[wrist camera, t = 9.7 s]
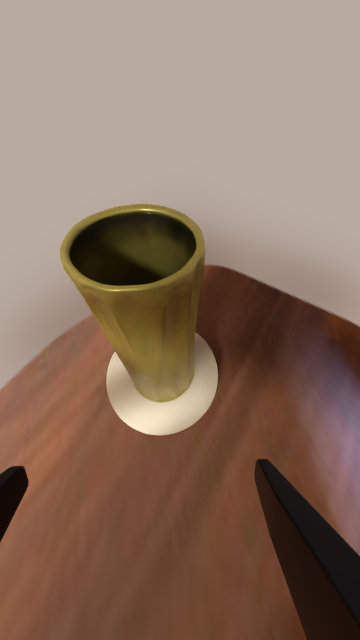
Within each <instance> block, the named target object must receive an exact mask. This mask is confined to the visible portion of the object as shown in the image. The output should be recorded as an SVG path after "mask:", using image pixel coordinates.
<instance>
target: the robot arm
mask: <svg viewBox="0 0 360 640" xmlns="http://www.w3.org/2000/svg"><path fill="white" fill-rule="evenodd" d="M255 482H256V486H257V490H258V493H259V497H260V501H261V504H262V508H263V512H264V515H265V519H266V523H267V526H268V530H269V533H270V537H271V540H272V543H273V546H274V549H275V551H276V554H277V557H278V560H279V562H280V565H281V568H282V571H283V574H284V576H285V579H286V582H287V585H288V588H289V590H290V593H291V596H292V599H293V602H294V604H295V607H296V610H297V613H298V616H299V618H300V621H301V624H302V627H303V629H304V632H305V635H306V638H307V640H360V556H359V555H358V554H357V553H356V552H355V551H354V550H353V549H352V548H351V547H350V545H349V544H348V543H347V542H346V541H345V540H344V539H343V538H342V537H341V536H340V535H339V534H338V533H337V532H336V531H335V530H334V529H333V528H332V527H331V525H330V524H329V523H328V522H327V521H326V520H325V519H324V518H323V517H322V516H321V515H320V514H319V513H318V512H317V511H316V510H315V509H314V508H313V507H312V506H311V504H310V503H309V502H308V501H307V500H306V499H305V498H304V497H303V496H302V495H301V494H300V493H299V492H298V491H297V490H296V489H295V488H294V487H293V486H292V484H291V483H290V482H289V481H288V480H287V479H286V478H285V477H284V476H283V475H282V474H281V473H280V472H279V471H278V470H277V469H276V468H275V467H274V466H273V465H272V463H271V462H270V461H269V460H267V459H257V460H256V465H255ZM27 487H28V478H27V474H26V471H25V468H24V467H23V466H12V467H10V468H8V469H7V470H5V471H4V472H3V473H1V474H0V542H1V540H2V538H3V536H4V534H5V532H6V530H7V528H8V526H9V524H10V522H11V520H12V518H13V516H14V514H15V512H16V510H17V508H18V506H19V504H20V502H21V500H22V498H23V496H24V494H25V492H26V489H27Z"/></svg>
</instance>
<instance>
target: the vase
mask: <svg viewBox="0 0 360 640" xmlns="http://www.w3.org/2000/svg"><path fill="white" fill-rule="evenodd" d="M60 256H61V261H62V264H63V267H64V269H65V271H66V273H67V274H68V275H69V277H70V278H71V280H72V281H73V282H74V284H75V285H76V287H77V288H78V290H79V292H80V293H81V295H82V296H83V298H84V300H85V301H86V303H87V305H88V307H89V308H90V310H91V312H92V314H93V315H94V317H95V319H96V320H97V322H98V323H99V325H100V327H101V328H102V330H103V332H104V333H105V335H106V337H107V338H108V340H109V342H110V344H111V345H112V347H113V348H114V350H115V352H116V354H117V355H118V357H119V359H120V360H121V362H122V364H123V365H124V367H125V368H126V370H127V372H128V374H129V376H130V378H131V379H132V381H133V385H134V387H135V388H136V390H137V391H138V392H139V393H140V394H141V395H142V396H143V397H144V398H146V399H148V400H150V401H153V402H157V403H163V402H169V401H173V400H175V399H177V398H178V397H180V396H181V395H182V394H184V393H185V392H186V391H187V390H188V388H189V387H190V385H191V383H192V380H193V378H194V351H195V329H196V321H197V312H198V305H199V298H200V291H201V283H202V276H203V271H204V261H205V246H204V238H203V234H202V231H201V229H200V228H199V227H198V225H197V224H196V223H195V222H194V221H193V220H192V219H190V218H189V217H188V216H186V215H185V214H183V213H181V212H179V211H176V210H174V209H171V208H167V207H164V206H158V205H151V204H150V205H149V204H135V205H127V206H119V207H114V208H111V209H107V210H104V211H101V212H99V213H96V214H93V215H91V216H89V217H87V218H85V219H83V220H82V221H80V222H79V223H77V224H76V225H75V226H74V227H73V228H72V229H71V230H70V231H69V232H68V234H67V236H66V237H65V239H64V241H63V243H62V245H61V248H60Z"/></svg>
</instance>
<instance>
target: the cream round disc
mask: <svg viewBox="0 0 360 640" xmlns="http://www.w3.org/2000/svg"><path fill="white" fill-rule="evenodd" d="M217 383H218V370H217V364H216V360H215V357H214V355H213V352H212V350H211V349H210V347H209V345H208V344H207V343H206V342H205V340H204V339H203V338H202V337H201V336H200V335H198V334H197V333H196V332H195V351H194V378H193V380H192V383H191V385H190V387H189V388H188V390H187V391H186V392H185V393H184V394H182V395H181V396H180V397H178V398H177V399H175V400H173V401H169V402H163V403H157V402H153V401H150V400H148V399H146V398H144V397H143V396H142V395H141V394H140V393H139V392H138V391H137V390H136V388H135V387H134V385H133V381H132V379H131V378H130V376H129V374H128V372H127V370H126V368H125V367H124V365H123V364H122V362H121V360H120V359H119V357H118V355H117V354H116V352H114V354H113V356H112V358H111V361H110V363H109V367H108V371H107V392H108V396H109V400H110V402H111V404H112V407H113V408H114V410H115V412H116V413H117V415H118V416H119V417H120V418H121V419H122V420H123V421H124V422H125V423H126V424H127V425H129V426H130V427H132V428H134V429H135V430H138V431H140V432H143V433H146V434H151V435H168V434H173V433H177V432H179V431H182V430H184V429H186V428H188V427H190V426H191V425H193V424H194V423H195V422H197V421H198V420H199V419H200V418H201V417H202V416H203V415H204V414H205V412H206V411H207V409H208V408H209V406H210V405H211V403H212V401H213V398H214V396H215V393H216V389H217Z"/></svg>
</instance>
